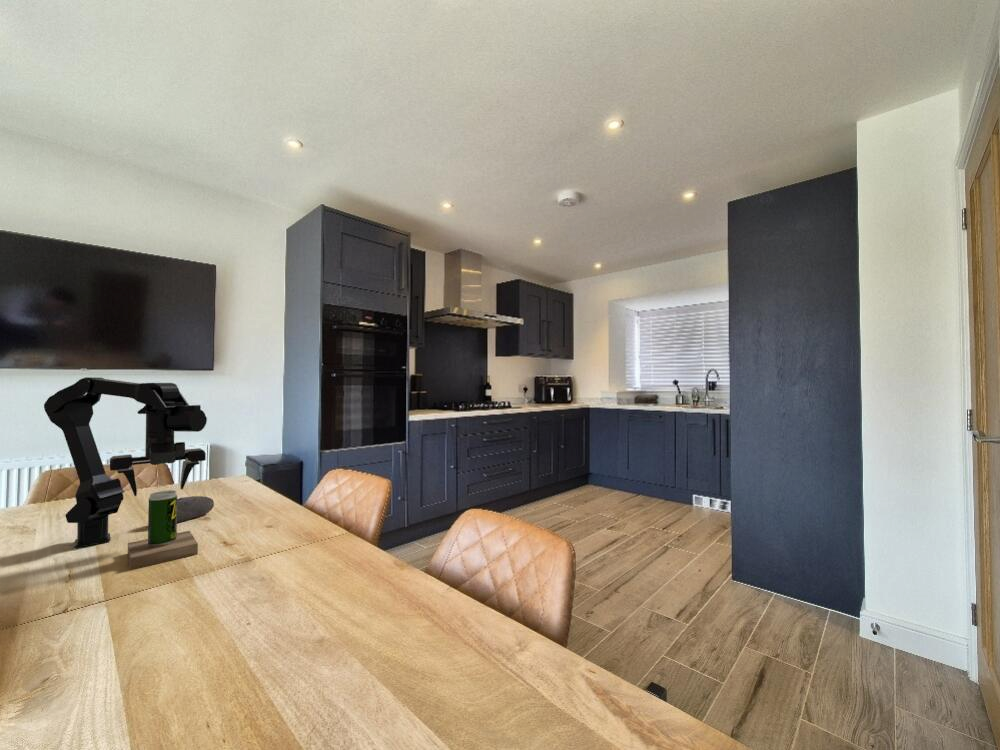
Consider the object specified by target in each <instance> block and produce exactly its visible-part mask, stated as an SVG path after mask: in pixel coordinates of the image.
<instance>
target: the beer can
mask: <svg viewBox="0 0 1000 750" xmlns="http://www.w3.org/2000/svg"><path fill="white" fill-rule="evenodd" d="M177 499H178V495H177V491H176V490H162V491H155V492H152V493H150V494H149V498H148V511H147V512H148V513H147V514H148V517H147V521H148V522H147V524H148V525H147V539H148V544H149V546H151V547H160V546H166V545H169V544H171V543H173V542H175V540H176V538H177V533H178V532H177V531H178V525H177V524H178V522H177Z"/></svg>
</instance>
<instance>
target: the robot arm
mask: <svg viewBox="0 0 1000 750" xmlns="http://www.w3.org/2000/svg"><path fill="white" fill-rule="evenodd" d="M102 395H107V396H108V395H109V396H114V397H121V398H122V397H123V398H129V399H133V400H135V402H137V403H139V404H140V403H141V404H143V405H144V406H143V407H142V408H140V409H139V410H137V414H139V415H145V447H144V448H145V454H144V455H145V456H144V455H143V456H135V457H134V456H132V454H123V455H122V454H120V455H113V456H112V457H110V458H109V471H113V472H114V471H117V474H123V475H124V477H125V478H126V480H127V481H128V482H129V485H130V488H131V490H132V492H133V493H132V494H133V496H134V497H137V496H138V495H137V494H138V489H137V483H136V482H137V481H136V477H135V470H134V469H135V468H134V465H146V464H147V465H148V464H150V465H152V466H158V465H159V464H173V463H175V462H176V461H182V466H181V475H180V483H179V484H180V485H179V486H180V490H184V487H185V485H186V482H187V480H188V478H189V475H190V473H191V471H192V470H193V468H194V467H195V466H196V465H200V462H204V461H206V460H207V459H206V455H207V454H206V451H205V450H203V449H202V448H188V449H186V443H185V441H179V442H175V432H178V433H179V432H181V433H182V432H183V433H184V432H189V433H191V432H193V433H196V432H201V431H203V429H205V427H206V425H207V421H208V417H207V416H206V413H205V412H204V411H203V410H202V409H201V405H200V404H194V405H193V404H192V405H190V404H189V403H188V401H187V400H186V398H185V397H184V396H183V394H182V393H181V392H180V389H179V386H177V384H176V383H173V382H141V383H140V382H139V383H138V382H132V381H131V382H130V381H124V380H115V379H109V378H103V377H98V376H97V377H91V376H90V377H87V376H86V377H83V378H80V379H78V381H76V382H74V383H73V384H71V385H69V386H67V387H64V388H62V389H60V390H58V391H57V392H55V393H54V394H53V395H51V396H49V397H48V398H47V399H46V401H45V402H44V404H43V408H44V409H43V410H44V411H45V413H46V415H47V417H48V419H49V421H50V422H51V423H52V424H54V425H55V426H56V427H58V428H59V429H60V430H62V432H63V436H64V438H65V441H66V444H67V448H68V450H69V454H70V456H71V458H72V462H73V465H74V468H75V472H76V474H77V477H78V481H79V485H78V487H77V490H76V493H75V495H74V496H75V499H76V500H75V501H76V504H74V505H73V506H72V507H71V508H70V509H69V510H68V512H66V513H65V515H64V516H65V519H66V522H67V523H68V524H77V525H76V526H77V527H76V528H77V529H76V530H77V532H76V539H75V541H74V546H73V547H74V548H75V549H77V548H81V547H87V546H92V545H93V546H94V545H98V544H104V543H108V542H111V533H109V516H111V515H113V514H118V511H119V509H120V506H121V504H122V502H123V500H124V493H125V490H124V488H123V487H122V483H121V480H120V479H119V478H117V477H116V478H111V477H110V476H109V475H107V473H106V470H105V468H104V465H103V461H102V458H101V455H100V453H99V450H98V446H97V444H96V441H95V438H94V435H93V431H92V428H91V425H90V422H91V421H92V418H93V416H94V409H93V406H95V405H97V404H98V402H100V400H101V397H102Z"/></svg>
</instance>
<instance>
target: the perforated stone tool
mask: <svg viewBox="0 0 1000 750" xmlns="http://www.w3.org/2000/svg"><path fill="white" fill-rule="evenodd" d="M214 505H215V502H214V500H213V498H212V497H207V496H201V495H196V496H185V497H183V496H182V497H180V498H177V523H180V522H185V521H189V520H193V519H196V518H199V517H202V516H204V515H206V514H208V513H209V512H211V511H212V509H214Z"/></svg>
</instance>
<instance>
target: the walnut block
mask: <svg viewBox="0 0 1000 750" xmlns="http://www.w3.org/2000/svg"><path fill="white" fill-rule="evenodd" d="M198 548H199V543H198V541H197V540H196V538H195V537H194V535H193V534H192V532H191V530H187V531H186V530H185V531H182V532H177V538H176V540H175V542H173V543H171V544H169V545H166V546H160V547H151V546H149V544H148V538H147V539H141V540H136V541H132V542H128V543H127V557H128V561H129V562H128V563H129V567H130V570H135V569H140V568H143V567H144V568H145V567H148V566H152V565H153V566H154V565H157V564H160V563H165V562H169V561H173V560H178V559H183V558H186V557H191V556H196V555H198V552H199V549H198Z"/></svg>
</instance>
